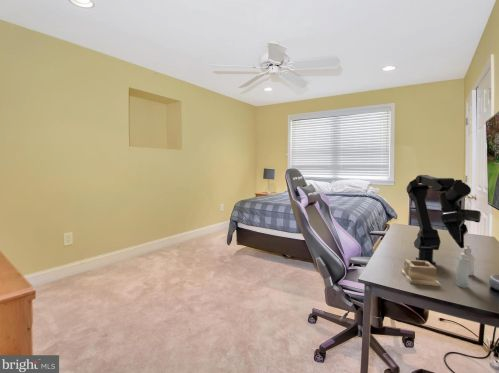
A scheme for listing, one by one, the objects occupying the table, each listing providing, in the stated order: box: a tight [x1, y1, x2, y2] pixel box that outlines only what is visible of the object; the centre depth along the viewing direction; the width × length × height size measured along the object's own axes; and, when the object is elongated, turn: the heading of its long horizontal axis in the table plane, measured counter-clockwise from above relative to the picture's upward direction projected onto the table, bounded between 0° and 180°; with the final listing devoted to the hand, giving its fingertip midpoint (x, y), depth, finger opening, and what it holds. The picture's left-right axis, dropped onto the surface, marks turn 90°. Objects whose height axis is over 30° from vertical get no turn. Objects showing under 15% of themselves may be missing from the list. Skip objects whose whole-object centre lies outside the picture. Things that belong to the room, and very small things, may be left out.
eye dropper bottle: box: [459, 244, 476, 276], centre depth 114 cm, size 4×6×12 cm
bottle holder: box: [400, 259, 441, 287], centre depth 109 cm, size 12×10×6 cm
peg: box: [455, 257, 470, 289], centre depth 102 cm, size 4×4×10 cm
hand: (460, 245), depth 102 cm, fingers open, 9 cm apart
